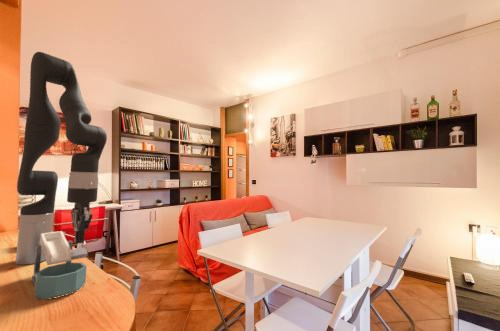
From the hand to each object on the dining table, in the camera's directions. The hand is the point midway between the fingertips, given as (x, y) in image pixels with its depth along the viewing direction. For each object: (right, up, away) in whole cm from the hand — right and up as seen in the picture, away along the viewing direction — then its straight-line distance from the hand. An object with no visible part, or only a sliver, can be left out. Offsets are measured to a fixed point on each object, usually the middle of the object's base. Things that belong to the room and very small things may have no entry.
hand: (79, 242), depth 69 cm
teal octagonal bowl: (+1, -10, -8) cm, 13 cm away
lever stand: (-8, -11, -1) cm, 13 cm away
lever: (-7, -5, +1) cm, 9 cm away
